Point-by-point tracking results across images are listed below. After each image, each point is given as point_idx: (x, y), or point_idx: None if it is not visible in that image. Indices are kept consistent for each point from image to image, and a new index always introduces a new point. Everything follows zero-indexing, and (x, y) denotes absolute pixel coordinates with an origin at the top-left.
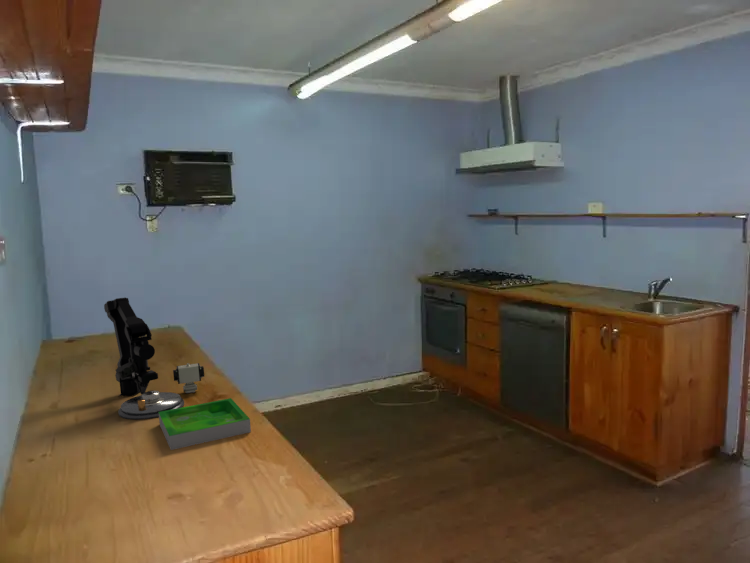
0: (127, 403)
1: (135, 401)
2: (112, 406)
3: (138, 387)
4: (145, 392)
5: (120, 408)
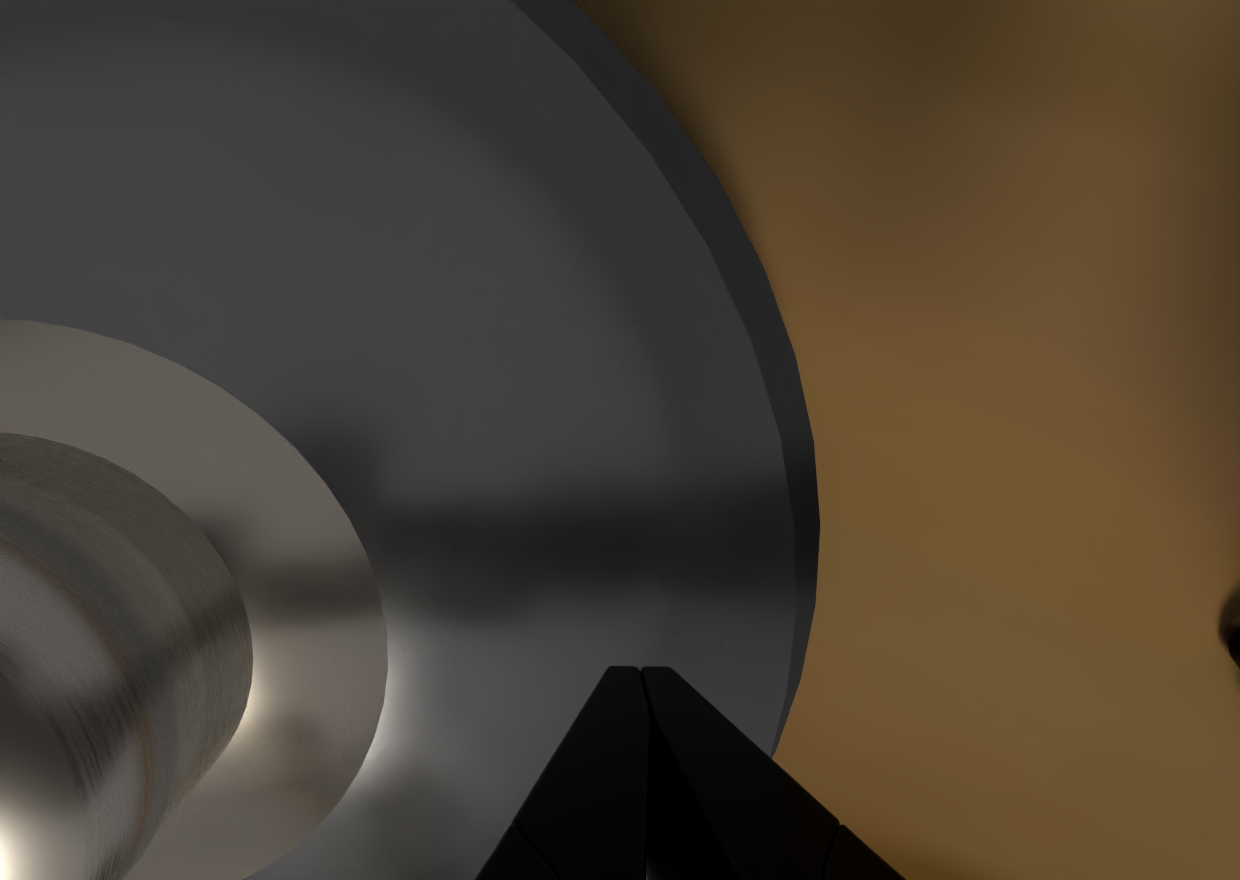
0: (402, 130)
1: (400, 369)
2: (1038, 62)
3: (772, 785)
4: (13, 741)
5: (543, 5)
